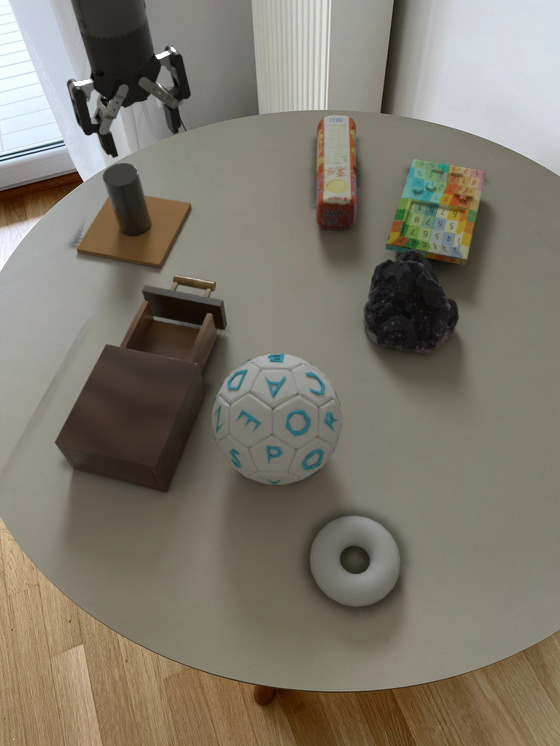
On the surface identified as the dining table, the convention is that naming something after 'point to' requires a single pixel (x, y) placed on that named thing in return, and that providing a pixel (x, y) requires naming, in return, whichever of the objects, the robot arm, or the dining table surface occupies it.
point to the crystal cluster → (409, 305)
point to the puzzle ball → (276, 419)
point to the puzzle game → (437, 211)
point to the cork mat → (136, 249)
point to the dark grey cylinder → (127, 199)
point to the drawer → (181, 308)
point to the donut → (343, 583)
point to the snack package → (336, 173)
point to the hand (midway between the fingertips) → (143, 142)
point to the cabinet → (133, 417)
